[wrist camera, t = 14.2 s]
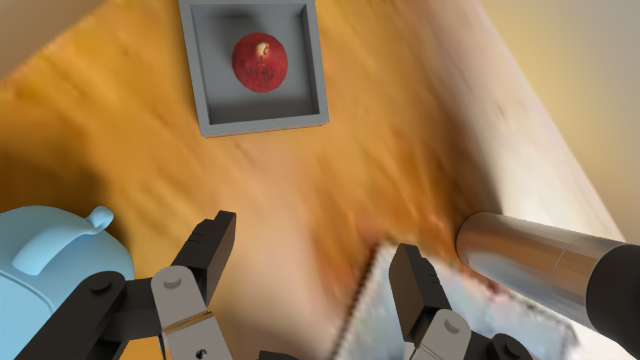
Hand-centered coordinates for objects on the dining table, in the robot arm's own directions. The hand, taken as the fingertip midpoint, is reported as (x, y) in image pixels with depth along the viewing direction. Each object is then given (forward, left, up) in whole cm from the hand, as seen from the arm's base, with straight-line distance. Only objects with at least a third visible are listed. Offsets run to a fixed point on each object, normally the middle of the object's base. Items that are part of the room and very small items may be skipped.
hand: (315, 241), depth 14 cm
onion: (0, -14, -22) cm, 26 cm away
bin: (0, -14, -23) cm, 27 cm away
